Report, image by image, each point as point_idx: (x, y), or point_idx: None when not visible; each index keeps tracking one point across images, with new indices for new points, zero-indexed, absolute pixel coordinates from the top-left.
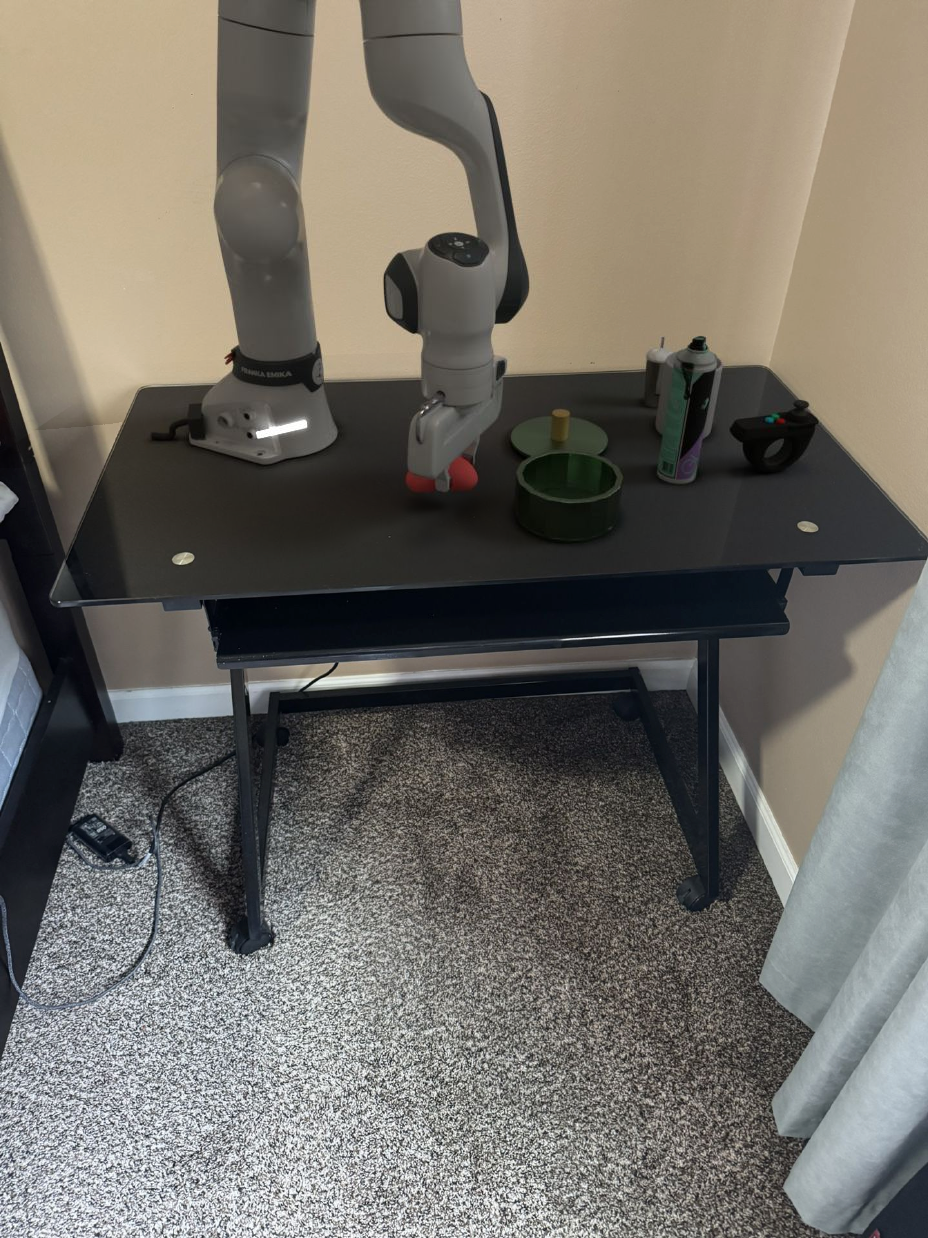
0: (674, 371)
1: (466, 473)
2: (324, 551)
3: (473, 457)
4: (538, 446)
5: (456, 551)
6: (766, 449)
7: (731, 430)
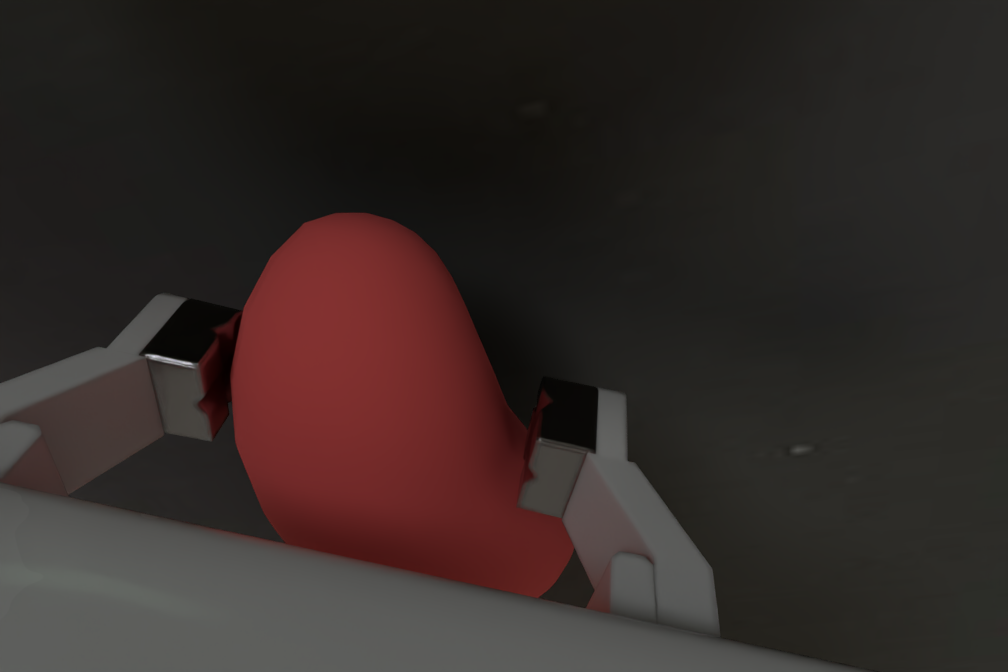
0: None
1: (405, 343)
2: (912, 597)
3: (148, 340)
4: None
5: (984, 126)
6: None
7: None
